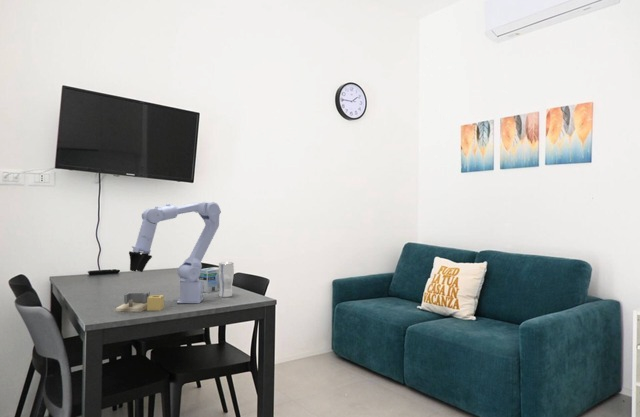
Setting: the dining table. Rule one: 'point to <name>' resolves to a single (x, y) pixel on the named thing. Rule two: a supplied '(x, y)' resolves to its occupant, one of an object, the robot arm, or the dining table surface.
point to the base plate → (131, 307)
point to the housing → (136, 296)
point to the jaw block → (155, 302)
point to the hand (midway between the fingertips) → (136, 271)
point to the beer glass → (225, 278)
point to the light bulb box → (210, 279)
